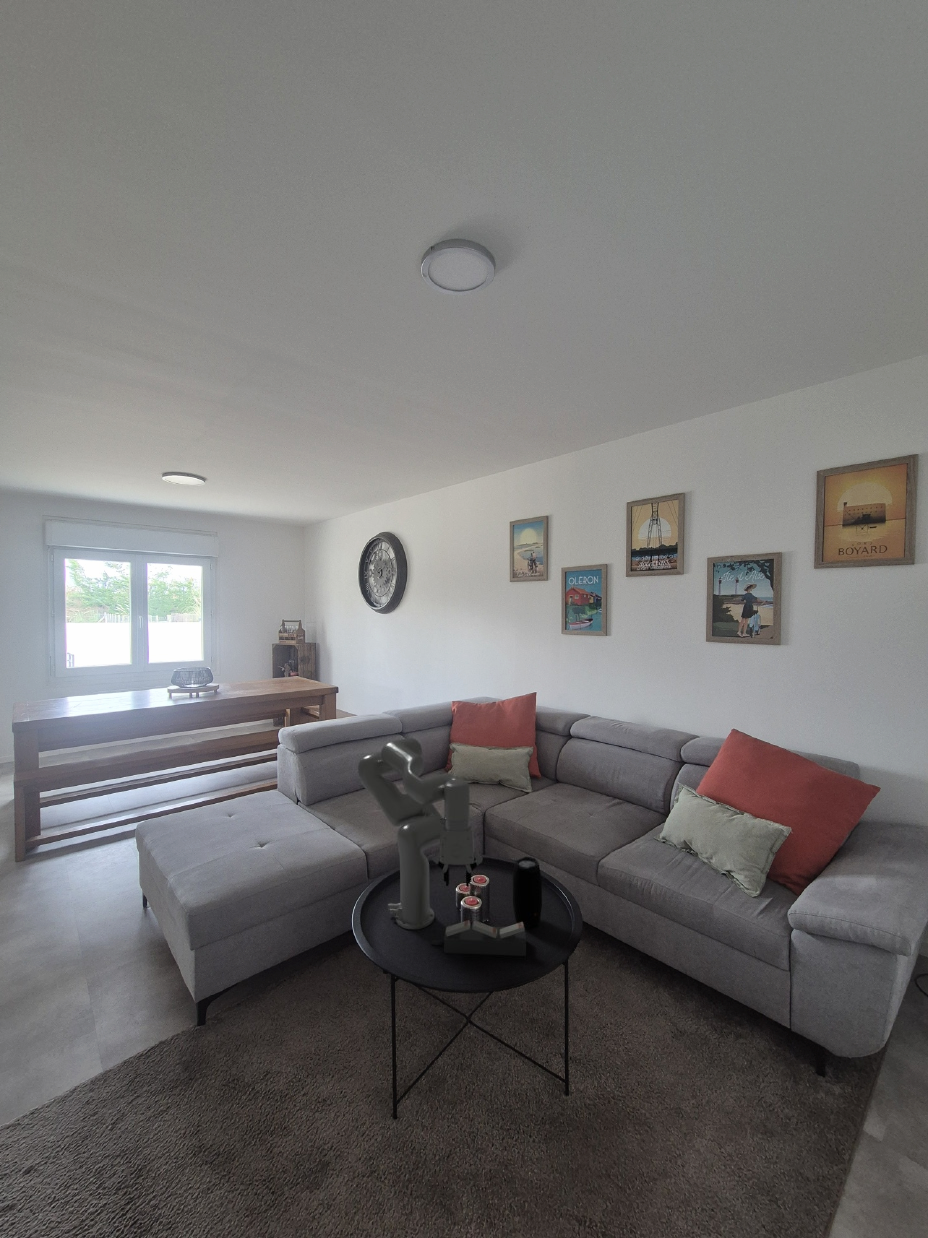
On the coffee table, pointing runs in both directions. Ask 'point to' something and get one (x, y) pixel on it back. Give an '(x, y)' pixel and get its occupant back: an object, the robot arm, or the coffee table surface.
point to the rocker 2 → (485, 929)
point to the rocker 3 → (512, 930)
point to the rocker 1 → (458, 928)
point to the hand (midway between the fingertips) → (457, 883)
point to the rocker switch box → (483, 943)
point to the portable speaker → (527, 891)
